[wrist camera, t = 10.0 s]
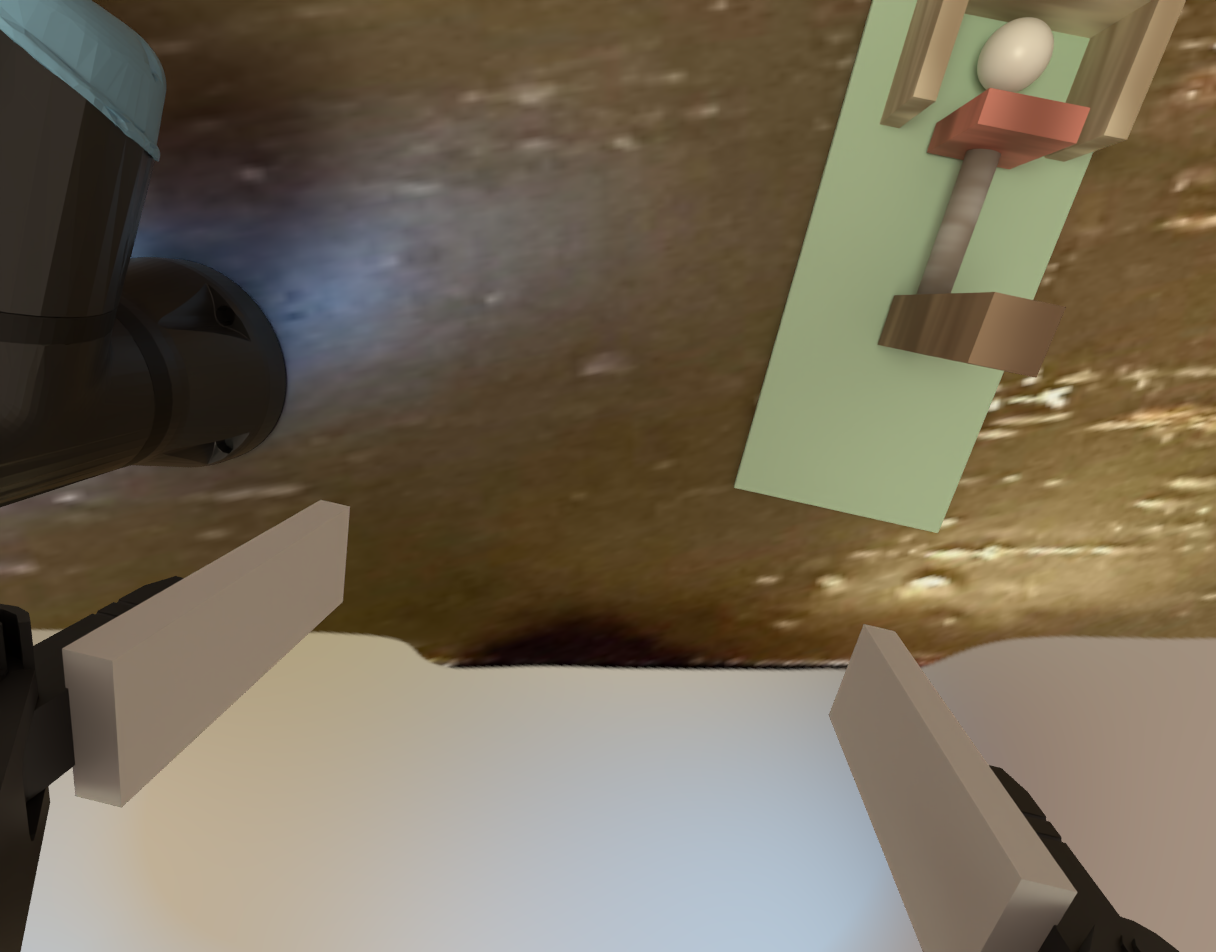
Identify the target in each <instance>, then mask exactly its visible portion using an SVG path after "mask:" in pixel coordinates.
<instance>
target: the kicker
mask: <svg viewBox="0 0 1216 952" xmlns="http://www.w3.org/2000/svg"><path fill="white" fill-rule="evenodd" d="M1089 111H1090V108H1089V107H1084V106H1079V105H1074V104H1069V103H1064V102H1059V101H1054V100H1049V99H1044V98H1039V97H1034V96H1029V95H1024V94H1019V93H1014V92H1009V91H1004V90H999V89H994V88H989V89H987V90H986V91H984V92H983V93H981V94H980V95H978V96H977V97H975V98H974V99H972V100H971V101H969V102H968V103H966V104H965V105H963V106H962V107H960V108H958V109H957V110H955V111H954V112H952V113H951V114H949V115H948V116H946V117H945V118H943V119H942V120H940V121H939V122H937V123H936V126H935V129H934V132H933V135H932V138H931V141H930V144H929V147H928V150H927V153H931V154H936V155H941V156H946V157H951V158H955V159H960V160H963V162H962V165H961V168H960V171H959V174H958V177H957V180H956V182H955V185H954V188H953V191H952V194H951V197H950V200H949V202H948V205H947V208H946V211H945V214H944V217H943V220H942V223H941V225H940V228H939V231H938V234H937V237H936V240H935V243H934V245H933V248H932V251H931V254H930V257H929V260H928V263H927V266H926V268H925V271H924V274H923V277H922V280H921V283H920V286H919V289H918V291H917V294H915V295H894V298H893V300H892V303H891V306H890V309H889V312H888V315H887V318H886V321H885V324H884V327H883V330H882V333H881V336H880V339H879V342H878V345H881V346H885V347H890V348H895V349H899V350H904V351H909V352H913V353H918V354H923V355H927V356H932V357H937V358H942V359H947V360H952V361H957V362H962V363H967V364H972V365H977V366H982V367H987V368H992V369H997V370H1002V371H1007V372H1012V373H1016V374H1021V375H1026V376H1031V377H1037V374H1038V372H1039V370H1040V367H1041V365H1042V363H1043V360H1044V358H1045V356H1046V353H1047V351H1048V349H1049V346H1050V344H1051V342H1052V339H1053V337H1054V334H1055V332H1056V330H1057V327H1058V325H1059V323H1060V320H1061V318H1062V316H1063V313H1064V311H1065V309H1066V307H1064V306H1059V305H1054V304H1049V303H1045V302H1040V301H1035V300H1030V299H1026V298H1021V297H1016V296H1011V295H1007V294H1002V293H997V292H979V293H951V291H952V288H953V286H954V283H955V280H956V277H957V275H958V272H959V269H960V266H961V264H962V261H963V258H964V256H965V253H966V250H967V247H968V245H969V242H970V239H971V236H972V234H973V231H974V228H975V225H976V223H977V220H978V217H979V214H980V212H981V209H982V206H983V204H984V201H985V198H986V195H987V193H988V190H989V187H990V184H991V182H992V179H993V176H994V173H995V171H996V168H997V167H1000V168H1004V169H1012V168H1014V167H1017V166H1019V165H1022V164H1025V163H1027V162H1030V161H1032V160H1035V159H1038V158H1040V157H1043V156H1045V155H1048V154H1051V153H1053V152H1056V151H1058V150H1061V149H1064V148H1066V147H1069V146H1071V145H1074V144H1076V143H1077V141H1078V138H1079V136H1080V133H1081V131H1082V128H1083V126H1084V123H1085V121H1086V118H1087V116H1088V113H1089Z"/></svg>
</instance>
